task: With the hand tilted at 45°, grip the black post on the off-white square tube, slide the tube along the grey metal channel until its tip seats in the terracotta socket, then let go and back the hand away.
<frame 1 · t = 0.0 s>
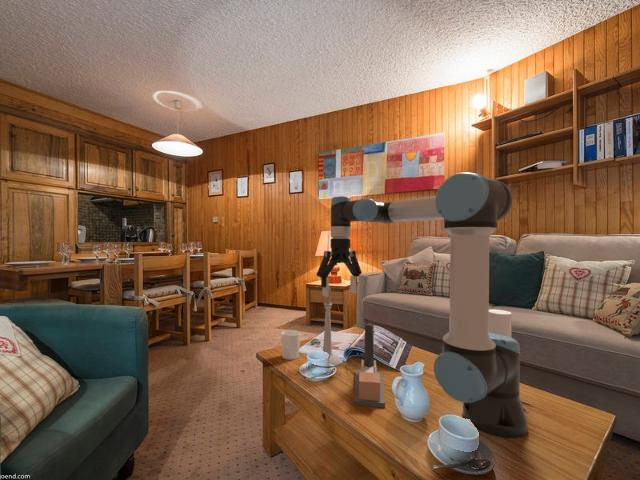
hand: (339, 294, 114), 28 cm above the table, tool pointing down, fingers open, 13 cm apart
cylindrical container: (498, 386, 101), on the table
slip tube: (369, 351, 102), point 11 cm above the table, slide at 0.0 cm
white cup: (290, 357, 125), on the table
candlestick: (327, 361, 121), on the table
tube stand: (368, 391, 96), on the table
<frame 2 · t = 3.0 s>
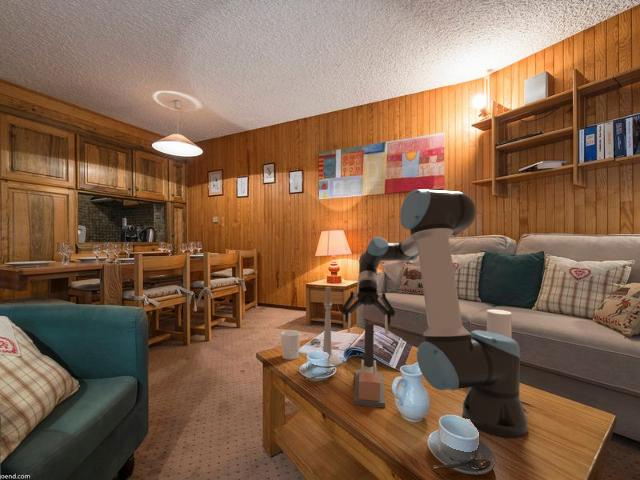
hand: (367, 331, 110), 15 cm above the table, tool tilted 45°, fingers open, 13 cm apart
nothing on the table moved.
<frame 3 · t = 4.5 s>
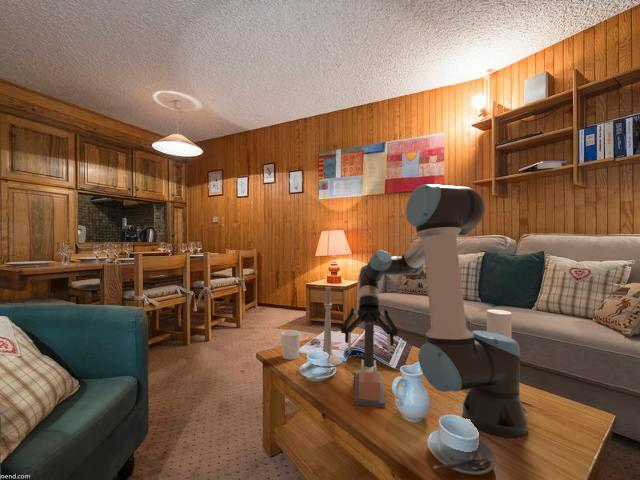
hand: (369, 352, 102), 10 cm above the table, tool tilted 45°, fingers open, 13 cm apart
nothing on the table moved.
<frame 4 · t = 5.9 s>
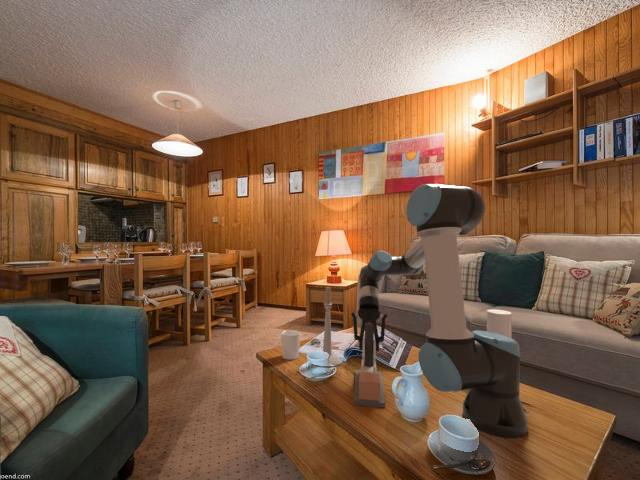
hand: (369, 359, 101), 9 cm above the table, tool tilted 45°, fingers closed on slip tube, 3 cm apart
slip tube: (369, 351, 102), point 11 cm above the table, slide at 0.0 cm, touching gripper
everything else where it was.
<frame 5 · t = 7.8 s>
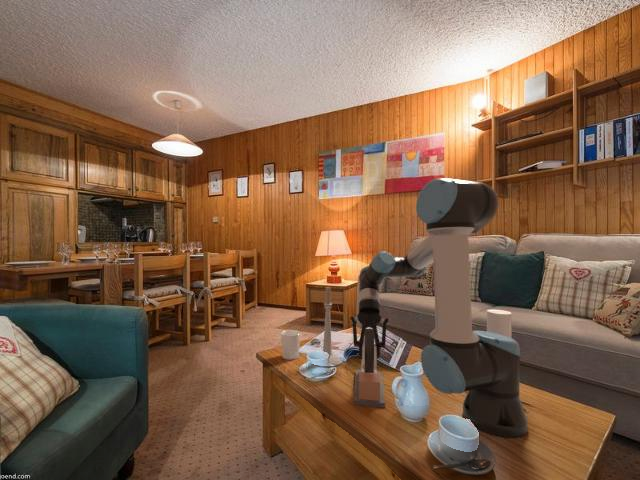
hand: (369, 367, 95), 9 cm above the table, tool tilted 45°, fingers closed on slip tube, 3 cm apart
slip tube: (369, 358, 97), point 11 cm above the table, slide at 6.0 cm, touching gripper
everything else where it was.
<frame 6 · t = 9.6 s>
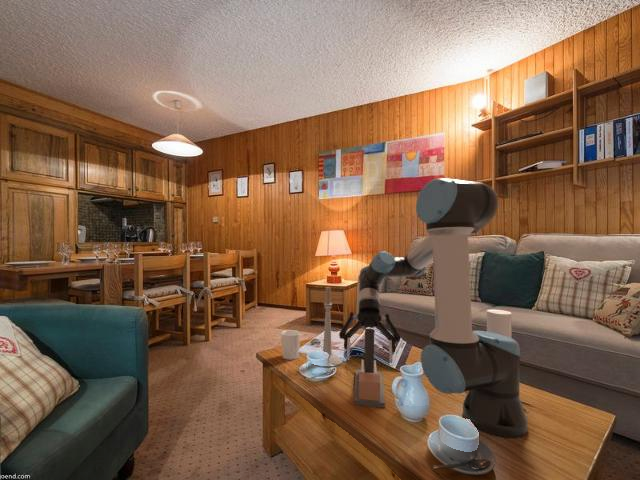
hand: (369, 360, 96), 10 cm above the table, tool tilted 45°, fingers open, 13 cm apart
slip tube: (369, 358, 97), point 11 cm above the table, slide at 6.0 cm
everything else where it was.
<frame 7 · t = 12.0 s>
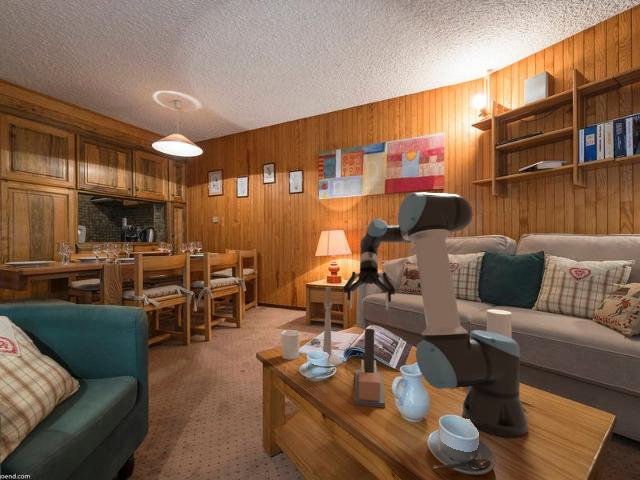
hand: (369, 307, 114), 23 cm above the table, tool tilted 45°, fingers open, 13 cm apart
nothing on the table moved.
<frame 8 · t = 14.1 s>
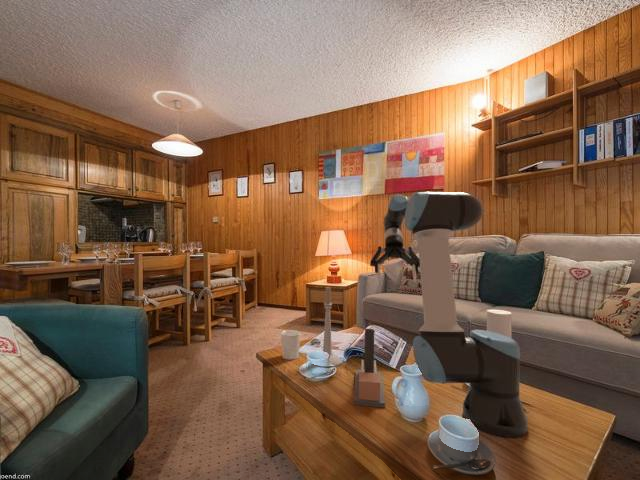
hand: (397, 279, 117), 34 cm above the table, tool tilted 45°, fingers open, 13 cm apart
nothing on the table moved.
at the end: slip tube slide at 6.0 cm; the gripper is holding nothing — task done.
